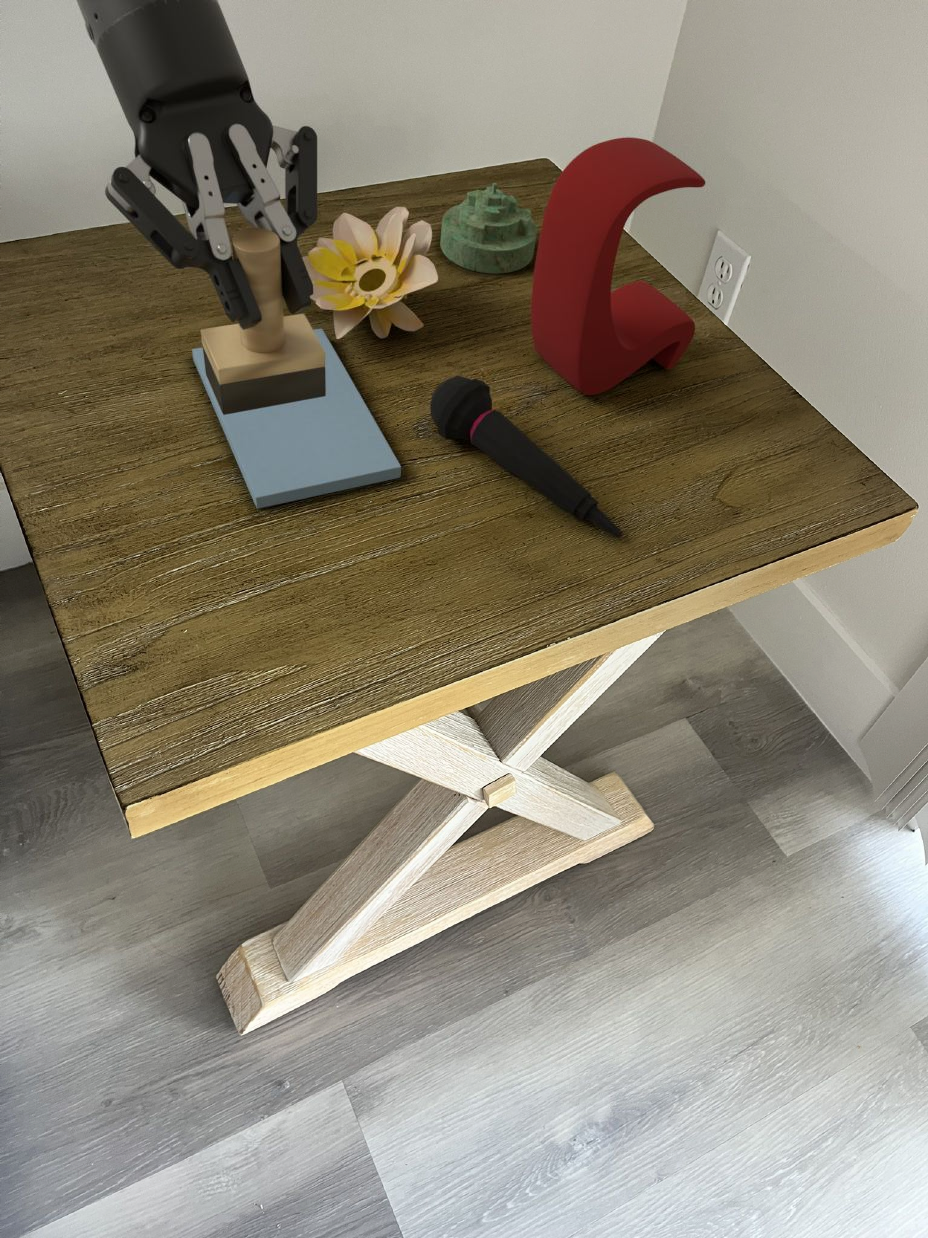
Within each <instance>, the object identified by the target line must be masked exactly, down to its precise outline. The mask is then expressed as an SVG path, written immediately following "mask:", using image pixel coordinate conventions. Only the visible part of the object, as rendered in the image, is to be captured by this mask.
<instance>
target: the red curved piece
mask: <svg viewBox="0 0 928 1238" xmlns="http://www.w3.org/2000/svg"><path fill="white" fill-rule="evenodd" d="M705 185H706V180H705V178H704V177H703V176H702V175H701V174H700V173H699V172H697V171H696V170H695V169H693V168H692V167H691V166H689V164H687V163H685V162H684V161H683V160H681V159H680V158H678V157H677V156H675V155H674V154H673V153H671V152H670V151H668V150H667V149H665V148H663V147H662V146H660V145H659V144H656V143H655V142H653V141H651V140H648V139H645V138H639V137H629V136H627V137H618V138H612V139H609V140H604V141H601V142H598V143H596V144H593V145H591V146H589V147H588V148H586V149H584V150H583V151H582V152H580V153H579V154H578V155H576V156H575V157H574V158H573V159H572V160H571V161H570V162H569V163H568V164H567V165H566V166H565V168H564V169H563V170H562V172H561V173H560V174H559V177H558V178H557V179H556V181H555V183H554V185H553V188H552V190H551V192H550V196H549V198H548V201H547V204H546V207H545V211H544V215H543V219H542V223H541V227H540V233H539V239H538V245H537V251H536V256H535V263H534V270H533V276H532V277H533V278H532V286H531V287H532V288H531V300H530V328H531V329H530V331H531V336H532V342H533V346H534V349H535V350H536V353H538V355H539V356H540V357H541V358H542V359H543V360H544V361H545V363H546V364H548V365H549V367H551V369H553V370H554V371H555V372H556V373H557V374H558V375H559V376H560V377H561V378H562V379H564V381H566V382H567V383H568V384H569V385H570V386H571V387H572V388H573V389H575V390H577V391H578V392H579V393H581V394H583V395H586V396H595V395H599V394H602V393H604V392H607V391H609V390H611V389H613V388H614V387H616V386H617V385H618V384H620V383H622V382H623V381H624V380H626V379H627V378H629V377H630V376H631V375H632V374H634V373H635V372H636V371H638V370H639V369H640V368H641V367H643V366H644V365H645V364H647V363H648V362H649V361H650V360H653V361H654V362H655V363H657V364H658V365H659V366H660V367H662V368H664V369H665V370H667V371H668V370H669V371H670V370H672V369H673V368H674V367H675V366H676V364H677V363H678V362H679V360H680V359H681V357H682V356H683V355H684V353H685V351H687V349H688V347H689V346H690V344H691V342H692V340H693V338H694V335H695V332H696V324H695V321H694V320H693V318H691V316H690V315H688V313H686V311H684V310H683V309H682V308H681V307H679V305H678V304H676V303H675V302H674V301H673V300H672V299H670V298H669V297H667V295H665V294H664V293H663V292H661V291H660V290H658V289H657V288H656V287H655V286H653V285H651V284H650V283H648V282H646V281H645V280H636V281H633V282H629V283H627V284H624V285H621V286H620V287H618V288H616V289H614V290H613V291H612V282H613V275H614V270H615V269H614V268H615V262H616V259H617V255H618V250H619V245H620V242H621V239H622V235H623V232H624V228H625V226H626V223H627V221H628V219H629V217H630V216H631V215H632V213H633V212H634V211H635V210H636V209H637V208H638V207H639V206H640V205H641V204H643V203H644V202H645V201H647V200H649V198H652V197H654V196H656V195H660V194H662V193H665V192H668V191H672V190H677V189H684V188H685V189H686V188H703V187H704V186H705Z"/></svg>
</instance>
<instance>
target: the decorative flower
mask: <svg viewBox="0 0 928 1238" xmlns="http://www.w3.org/2000/svg"><path fill="white" fill-rule="evenodd" d="M409 214H410V212H409V210H408V209H407V208H406V207H405V206H395V207H393V208H392V209H390V211H388V212H387V213H386V214H385V215H384V216H382V218H381V219H380V220H379V222H378V224H377V226H376V229H375V230H374V229H373V228H372V227H371V225H370V224H369V223H368V222H366V221H364V220H362V219H360V218H358V217H356V216H354V215H352V214H351V213H347V212H343V213H342V214H340V215H339V216H338V217H337V218H336V219H335V220H334V221H333V227H332V237H333V238H328V237H319V238H318V239H317V242H316V246H315V247H313V248H312V249H311V250H309V251H308V252H307V253H308V254H307V255H305V256H302V259H303V261H304V264H305V266H306V269H307V271H308V273H309V276H310V278H311V281H312V283H313V293H314V294H312V295H311V296H310V299H311V301H314V302H315V305H316V306H318V307H319V308H320V309H321V310H329V311H333V312H332V318H333V326H334V327H333V328H334V333H335V335H334V336H335V338H336V340H339V339H341V338H343V337H344V336H346V335H347V334H348V333H350V332H351V331H352V330H353V329H355V328H356V327H357V326H358V325H359V324H360V323H361V322H362V321H363V320H364V319H365V318H366V317H367V316H368V317H369V318H368V319H369V321H370V326H371V330H372V331H373V333H374V334H375V335H376V336H377V337H378V338H380V339H385V338H387V337H388V336H389V334H390V330H391V326H392V324H393V325H394V326H395V327H397V328H399V329H401V330H403V331H406V332H415V331H418V330H420V329H421V328H423V327H424V326H425V324H424V323H423V322H422V320H420V319H419V317H418V316H417V315H416V313H414V312H413V311H412V310H411V309H410V308H409V307H408V305H406V304H405V303H404V302H402V301H401V300H402V299H404V300H407V299H408V297H407V295H408V294H410V293H413V292H417V291H419V290H422V289H424V288H427V287H429V286H432V285H434V284H436V283H437V282H438V280H439V275H438V272H437V269H436V266H435V264H434V263H433V262H432V261H431V260H430V259H429V258H428V257H426V254H427V253H428V251H429V249H430V246H431V242H432V238H433V231H432V226H431V224H430V223H428V222H426V221H425V220H423V219H421V220H419V221H417V222H415V223H413V224H411V225H410V227H409V228H408V229H407V230H406V232H405V233H404V229H405V227H406V224H407V221H408V218H409ZM403 233H404V235H403Z"/></svg>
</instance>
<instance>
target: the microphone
mask: <svg viewBox="0 0 928 1238" xmlns="http://www.w3.org/2000/svg"><path fill="white" fill-rule="evenodd" d="M429 411H430V418H431V419H432V421H433V424H435V426H436V427H437V433H438V435H439V436H440V437H442V438H443V439H445V440H449V441H457V440H458V439H459V440H462V441H466V440H470V441H471V444H472V445H473V446H475V447H476V448H477V449H479V450H480V451H482V452H483V453H484V454H486V455H487V456H488V457H490V458H491V459H493V460H494V462H495V464H496V465H497V466H499V467H500V468H501V469H503V470H504V471H506V472H507V473H512V474H514V475H515V476H516V477H517V478H519V479H520V480H522V481H523V482H525V483H526V484H527V485H529V486H530V487H531V488H533V489H534V490H536V491H537V492H538V493H540V494H542V496H544V497H546V498H547V499H548V500H550V501H551V502H552V503H554V504H555V505H557V506H558V507H560V508H561V509H562V510H564V511H565V512H566V513H568V514H569V515H571V516H572V517H576V518H577V519H579V520H580V521H581V522H584V521H586V520H588V521H590V522H591V523H592V524H594V525H595V526H596V527H598V528H600V529H601V530H603V531H604V532H606V533H608V534H610V535H611V536H613V537H615V538H617V539H619V538H620V537H622V535H623V532H622V531H621V530H620V529H619V527H618V526H616V524H615V523H614V522H613V521H612V520H611V519H610V518H609V517H608V516H607V515H606V514H605V513H604V512H603V511H602V510H600V508H598V505H599V501H598V500H597V499H595V498H594V497H593V496H592V493H591V492H590V491H589V490H588V489H586V488H585V487H584V486H583V485H582V484H581V483H580V482H579V481H578V480H576V478H574V477H573V476H572V475H571V474H570V473H569V472H568V471H567V470H565V469H564V468H563V467H562V466H561V465H560V464H559V463H557V462H556V461H555V460H554V459H553V457H551V456H549V454H547V453H546V452H545V451H544V450H543V449H542V448H541V447H540V446H539V445H537V444H536V443H535V442H534V441H533V440H532V438H530V437H529V436H527V434H525V433H524V432H523V431H522V430H521V429H520V428H519V427H518V426H516V425H515V424H514V423H513V422H512V421H511V420H510V419H508V418H507V417H506V416H505V415H504V414H503V413H502V412H500V410H496V409H493V398H492V396H491V387H490V386H489V384H487V383H486V382H485V381H483V380H480V379H477V378H473V379H471V378H468V377H464V376H460V375H454V376H452V377H449V378H447V379H445V380H444V381H442V382H441V383H440V384H438V386H437V387H436V388H435V389H434V391H433V392H432V396H431V398H430V406H429Z"/></svg>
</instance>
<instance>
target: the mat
mask: <svg viewBox="0 0 928 1238" xmlns="http://www.w3.org/2000/svg"><path fill="white" fill-rule="evenodd" d="M313 331H314V333H315V334H316V336H317V338H318V340H319V342H320V343H321V345H322V347H323V349H324V351H325V377H326V396H324V397H319V398H313V399H308V400H303V401H297V402H292V403H286V404H281V405H275V406H270V407H265V408H259V409H254V410H248V411H243V412H237V413H232V414H227V415H223V413H222V411H221V408H220V406H219V404H218V401H217V399H216V397H215V394H214V392H213V390H212V387H211V385H210V383H209V380H208V378H207V376H206V370H205V362H204V354H203V347H197V348H192V349H191V352H192V360H193V362H194V365H195V367H196V370H197V372H198V374H199V377H200V378H201V382H202V383H203V386H204V388H205V391H206V393H207V395H208V397H209V400H210V402H211V404H212V408H213V409H214V412H215V414H216V417H217V419H218V421H219V424H220V426H221V428H222V431H223V432H224V436H225V437H226V440H227V443H228V444H229V447H230V449H231V451H232V454H233V456H234V459H235V460H236V463H237V466H238V468H239V470H240V472H241V476H242V478H243V479H244V482H245V484H246V487H247V489H248V491H249V494H250V496H251V498H252V500H253V503H254V505H255V507H256V509H258V510H259V509H262V508H268V507H271V506H277V505H281V504H285V503H290V502H295V501H299V500H303V499H309V498H315V497H318V496H322V495H327V494H332V493H335V492H341V491H346V490H350V489H355V488H359V487H364V486H368V485H372V484H378V483H381V482H387V481H391V480H396V479H400V478H401V475H402V466H401V464H400V462H399V460H398V458H397V457H396V455H395V453H394V451H393V450H392V447H391V446H390V444H389V443H388V441H387V440H386V439H387V438H385V436H384V434H383V433H382V431H381V429H380V427H379V425H378V423H377V422H376V420H375V418H374V416H373V415H372V413H371V411H370V409H369V408H368V406H367V404H366V403H365V400H364V399H363V398H362V396H361V394H360V391H359V390H358V388H357V387H356V385H355V383H354V381H353V380H352V378H351V376H350V375H349V373H348V370H347V369H346V368H345V366H344V364H343V363H342V361H341V359H340V357H339V355H338V353H337V351H336V349H335V348H334V347H333V345H332V343H331V342H330V340H329V337H328V336H327V334H326V332H325V331H324V329H323V328H315V329H313Z"/></svg>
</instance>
